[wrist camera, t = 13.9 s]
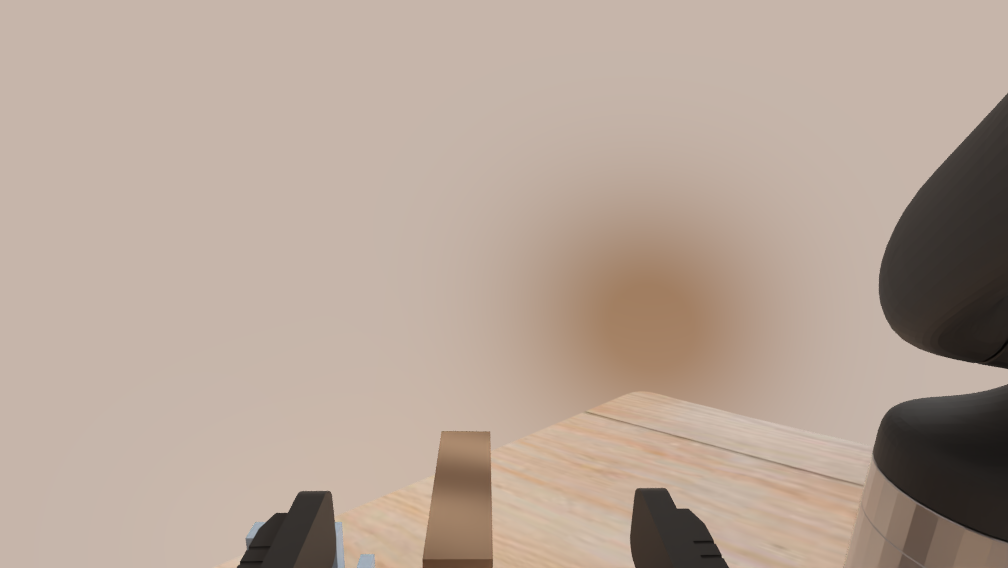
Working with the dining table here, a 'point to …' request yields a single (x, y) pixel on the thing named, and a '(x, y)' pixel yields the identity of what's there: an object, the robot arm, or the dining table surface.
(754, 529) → the dining table surface
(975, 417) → the robot arm
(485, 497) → the walnut board
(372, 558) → the rack
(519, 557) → the dining table surface
